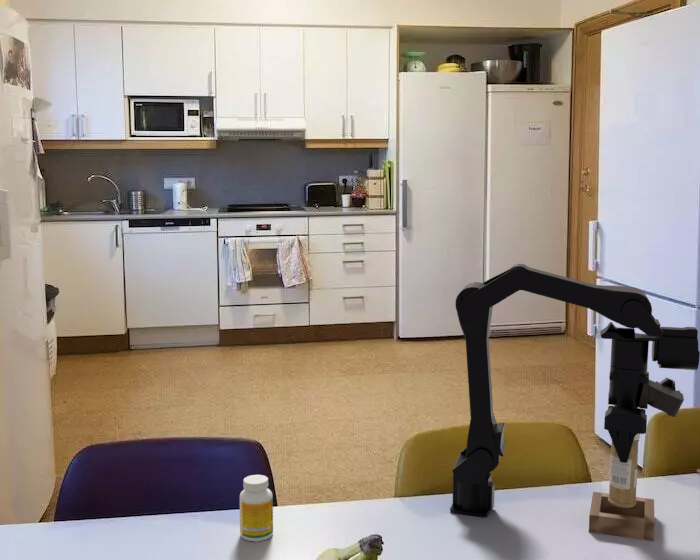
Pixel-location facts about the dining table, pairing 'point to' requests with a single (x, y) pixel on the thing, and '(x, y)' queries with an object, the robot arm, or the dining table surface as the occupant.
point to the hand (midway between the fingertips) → (624, 457)
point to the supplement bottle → (256, 509)
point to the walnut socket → (622, 518)
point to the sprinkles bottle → (623, 477)
